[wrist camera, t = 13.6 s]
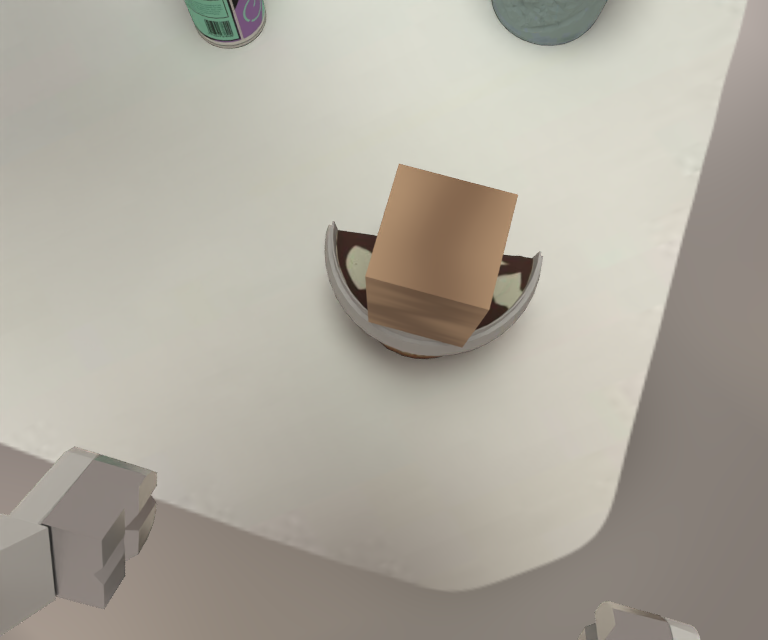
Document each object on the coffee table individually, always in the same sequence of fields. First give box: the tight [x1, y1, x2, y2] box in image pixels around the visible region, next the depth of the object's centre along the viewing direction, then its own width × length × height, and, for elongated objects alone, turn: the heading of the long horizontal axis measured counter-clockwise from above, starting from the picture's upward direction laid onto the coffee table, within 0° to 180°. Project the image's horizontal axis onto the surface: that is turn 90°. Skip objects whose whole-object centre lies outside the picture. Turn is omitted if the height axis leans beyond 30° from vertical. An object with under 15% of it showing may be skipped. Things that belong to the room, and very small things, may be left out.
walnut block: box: [365, 164, 518, 348], centre depth 29 cm, size 5×5×8 cm
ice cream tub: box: [325, 221, 543, 359], centre depth 37 cm, size 12×6×10 cm, turn 81°
